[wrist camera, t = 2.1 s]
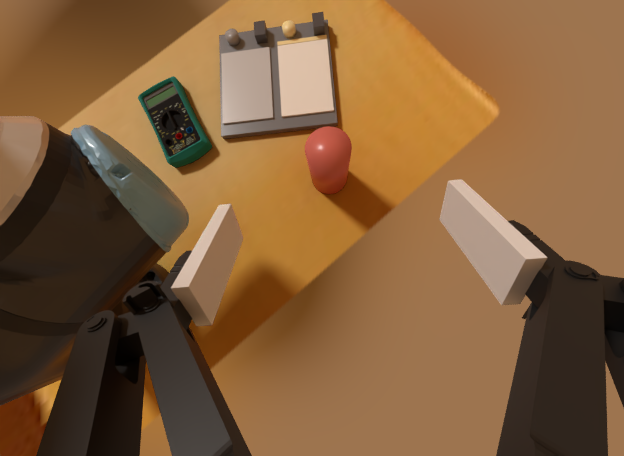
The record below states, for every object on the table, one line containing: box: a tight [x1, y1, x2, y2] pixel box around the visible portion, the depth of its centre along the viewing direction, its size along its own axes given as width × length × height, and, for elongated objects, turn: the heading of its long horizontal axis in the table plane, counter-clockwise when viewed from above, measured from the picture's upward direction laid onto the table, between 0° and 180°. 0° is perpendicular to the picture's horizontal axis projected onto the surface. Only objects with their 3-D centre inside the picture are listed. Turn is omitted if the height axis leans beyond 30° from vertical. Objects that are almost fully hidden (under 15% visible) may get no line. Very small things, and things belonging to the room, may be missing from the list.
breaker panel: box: [219, 12, 337, 139], centre depth 41 cm, size 19×19×3 cm
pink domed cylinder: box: [305, 126, 352, 194], centre depth 35 cm, size 6×6×10 cm
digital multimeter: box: [138, 77, 212, 168], centre depth 42 cm, size 7×15×3 cm, turn 28°
